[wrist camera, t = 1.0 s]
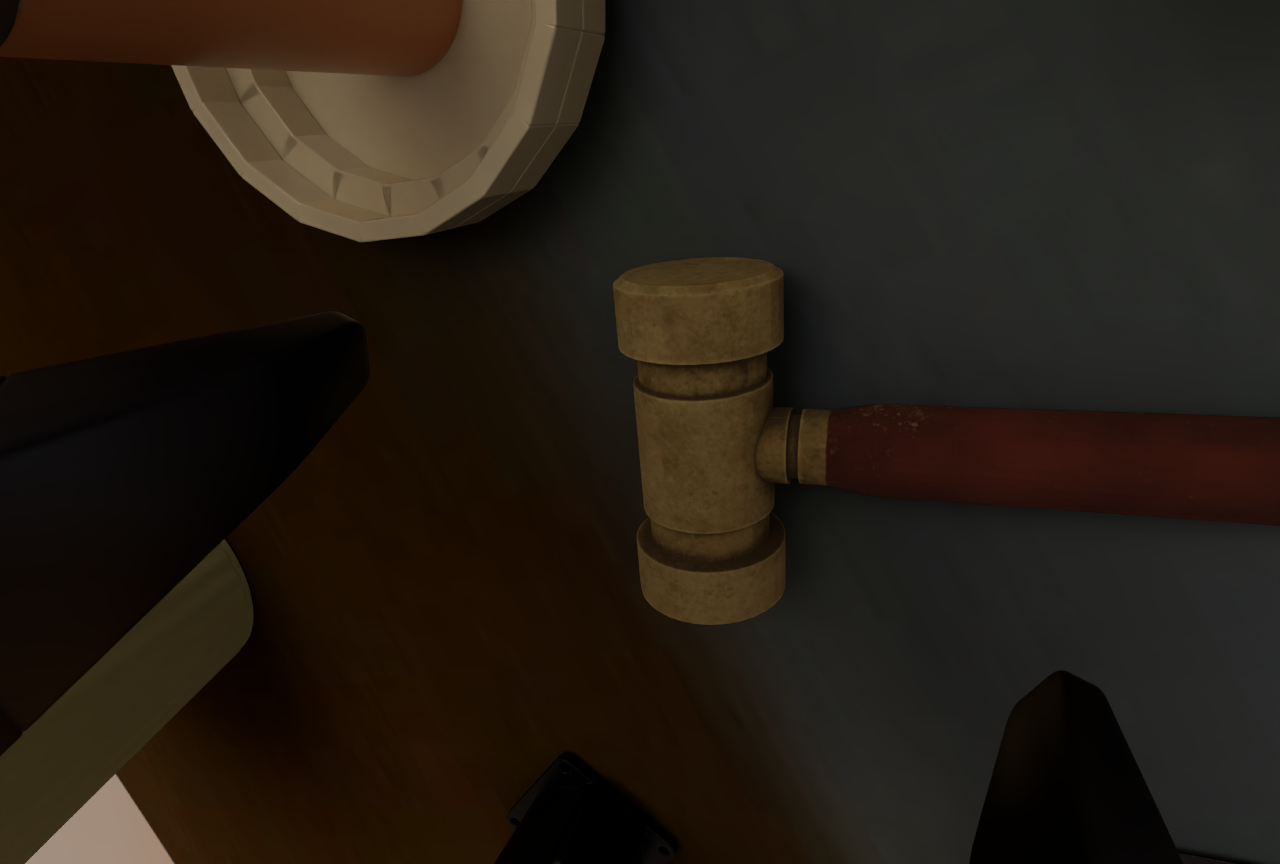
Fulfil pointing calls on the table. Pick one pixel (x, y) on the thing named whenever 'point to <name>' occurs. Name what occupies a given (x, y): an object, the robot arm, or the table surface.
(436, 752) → the table surface
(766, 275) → the gavel
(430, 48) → the copper tin
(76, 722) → the potted cactus
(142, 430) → the robot arm
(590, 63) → the bowl
